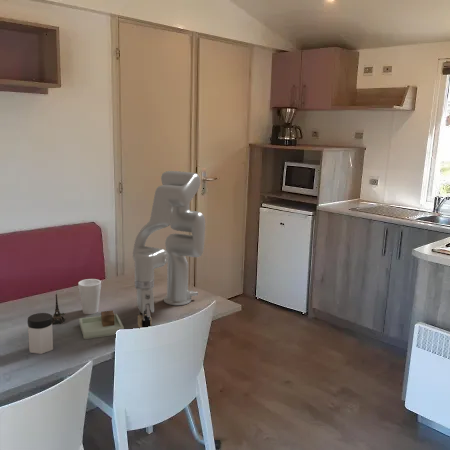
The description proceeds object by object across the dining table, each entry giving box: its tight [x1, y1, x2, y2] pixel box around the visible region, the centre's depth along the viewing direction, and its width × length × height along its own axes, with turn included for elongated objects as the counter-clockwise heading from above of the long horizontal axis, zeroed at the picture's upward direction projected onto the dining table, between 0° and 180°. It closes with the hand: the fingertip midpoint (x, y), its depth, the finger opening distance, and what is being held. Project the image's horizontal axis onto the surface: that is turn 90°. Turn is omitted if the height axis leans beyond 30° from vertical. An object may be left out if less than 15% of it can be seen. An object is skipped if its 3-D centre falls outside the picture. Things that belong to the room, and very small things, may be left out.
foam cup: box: [77, 278, 102, 315], centre depth 205 cm, size 10×9×13 cm
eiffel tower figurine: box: [52, 293, 66, 326], centre depth 194 cm, size 15×10×13 cm
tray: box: [78, 313, 125, 340], centre depth 189 cm, size 15×14×3 cm
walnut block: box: [100, 310, 115, 327], centre depth 192 cm, size 4×4×4 cm
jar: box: [27, 312, 54, 355], centre depth 171 cm, size 9×8×12 cm
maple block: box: [137, 314, 153, 328], centre depth 192 cm, size 4×4×4 cm
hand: (144, 326), depth 192 cm, fingers closed on maple block, 4 cm apart
